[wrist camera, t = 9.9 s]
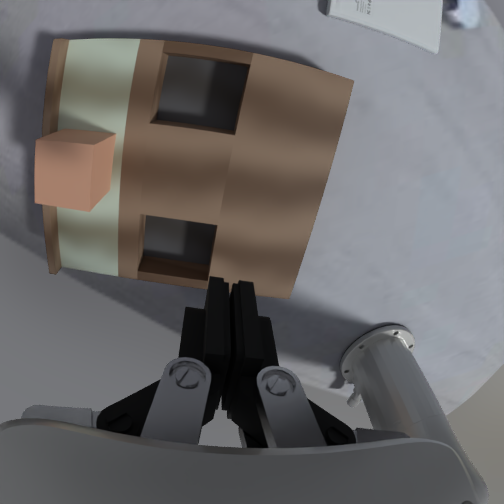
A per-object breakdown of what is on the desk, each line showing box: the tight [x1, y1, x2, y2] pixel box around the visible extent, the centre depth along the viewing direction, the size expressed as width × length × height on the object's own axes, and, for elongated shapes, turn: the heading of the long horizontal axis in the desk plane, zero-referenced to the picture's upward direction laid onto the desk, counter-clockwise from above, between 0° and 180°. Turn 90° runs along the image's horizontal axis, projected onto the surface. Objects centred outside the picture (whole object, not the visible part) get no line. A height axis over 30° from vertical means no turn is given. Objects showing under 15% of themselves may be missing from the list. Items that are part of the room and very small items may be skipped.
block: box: [35, 129, 116, 212], centre depth 21 cm, size 5×5×5 cm
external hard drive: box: [326, 0, 443, 54], centre depth 21 cm, size 2×8×12 cm
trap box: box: [42, 38, 354, 299], centre depth 26 cm, size 22×25×6 cm
